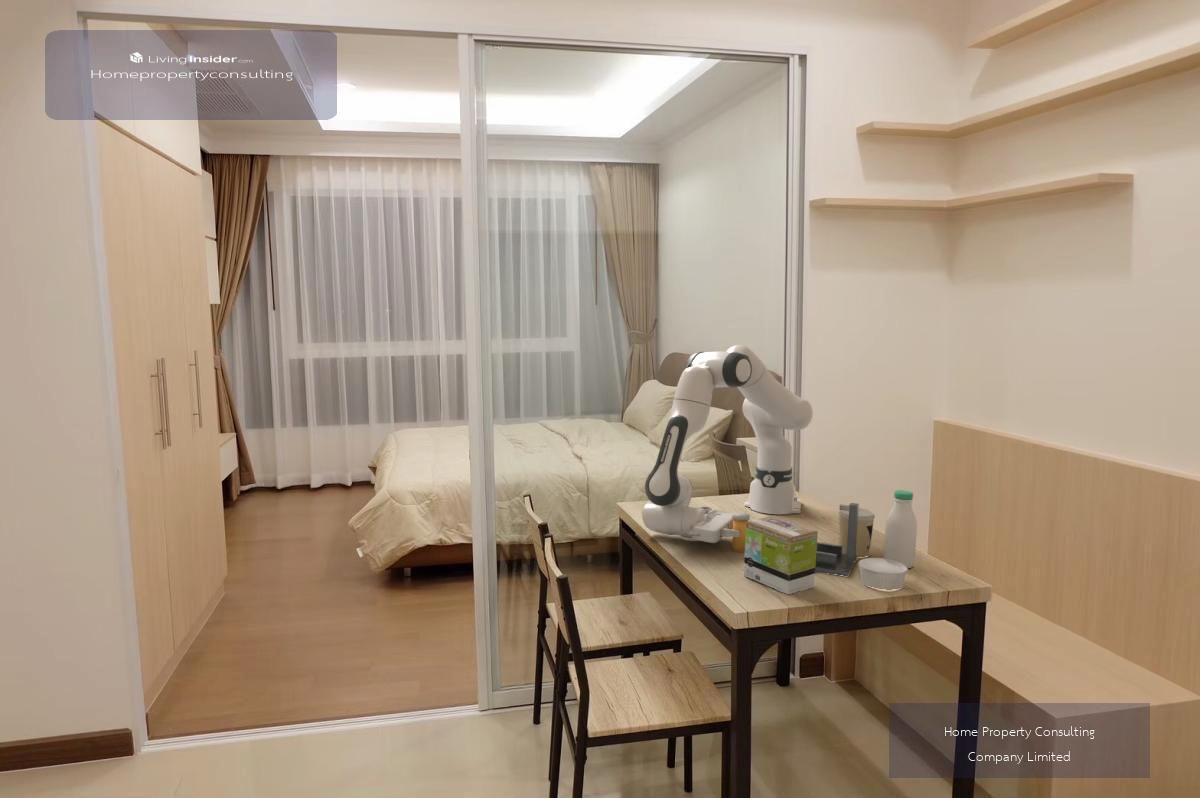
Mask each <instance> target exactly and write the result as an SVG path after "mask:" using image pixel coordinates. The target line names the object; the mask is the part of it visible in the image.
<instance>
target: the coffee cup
mask: <svg viewBox="0 0 1200 798" xmlns="http://www.w3.org/2000/svg"><path fill="white" fill-rule="evenodd" d="M838 515H839V545H840V546H843V547H842V553H843V554H846V553H847V537H848V521H849V511H844V510H839V512H838ZM874 520H875V513H874V512H873V511H872V510H869V509H865V508H862V507H859V511H858V527H857V542H856V556H857V557H865V556H868V555H869V556H870V549H871V544H872V543H871V542H872V535H873V529H874ZM869 556H868V557H869ZM865 558H866V557H865Z"/></svg>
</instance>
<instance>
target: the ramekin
mask: <svg viewBox="0 0 1200 798" xmlns="http://www.w3.org/2000/svg"><path fill="white" fill-rule="evenodd" d="M858 567H859V574H860V580H861V583H862V584H863V585H864V584H865V585H867V586H870V587H874V588H879V589H886V590H892V589H899V588H901V587H902V588H903V586H904V583H905V580H906V576H907V575H908V571H909V569H907V567H906V566H905V565H903V564H901V563H899V562H896V561H893V560H888V559H884V558H881V557H866V558H862V559H861V560H859V562H858ZM865 585H864V586H865ZM902 588H901V589H902Z"/></svg>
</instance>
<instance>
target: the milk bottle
mask: <svg viewBox="0 0 1200 798" xmlns="http://www.w3.org/2000/svg"><path fill="white" fill-rule="evenodd" d="M893 492H894V493H893V497H894V498H893V500H894V503H893V505H892V508H891V510H890V511H889V514H888V516H887V518H886V522H885V533H884V545H883V559H888V560H893V561H896V562H899V563H901V564H903V565H905V566H906V567H907V568H911V567H913V568H914V567H915V560H916V559H915V557H916V547H917V545H916V544H917V533H918V532H917V531H918V529H917V528H918V526H917V517H916V515H915V513H914V510H913V507H912V502H913V499H914V493H913V492H911V491H909V490H895V491H893ZM911 569H912V568H911Z"/></svg>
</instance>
